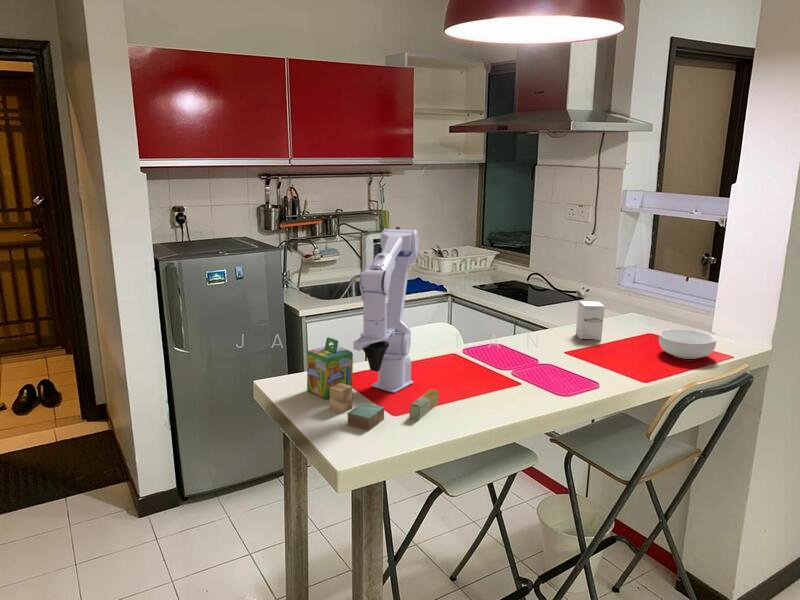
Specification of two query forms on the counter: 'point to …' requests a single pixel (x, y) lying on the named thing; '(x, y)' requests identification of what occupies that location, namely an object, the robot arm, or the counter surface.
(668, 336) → the cereal bowl
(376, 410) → the walnut block
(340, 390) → the oak block
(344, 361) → the chalk box
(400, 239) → the robot arm
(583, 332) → the supplement box
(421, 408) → the medication box
